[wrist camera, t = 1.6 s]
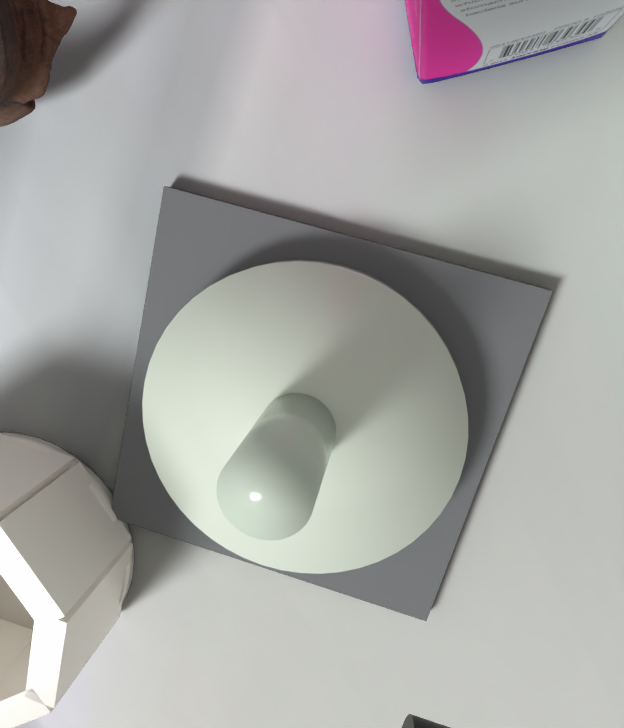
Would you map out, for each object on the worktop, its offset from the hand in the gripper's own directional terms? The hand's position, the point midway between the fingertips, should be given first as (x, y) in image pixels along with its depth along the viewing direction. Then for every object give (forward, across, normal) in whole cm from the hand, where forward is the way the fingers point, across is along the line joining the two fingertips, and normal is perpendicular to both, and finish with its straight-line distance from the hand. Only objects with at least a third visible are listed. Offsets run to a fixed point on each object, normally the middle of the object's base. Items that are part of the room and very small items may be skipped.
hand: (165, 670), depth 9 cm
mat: (+13, 0, 0) cm, 13 cm away
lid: (+13, 0, 0) cm, 13 cm away
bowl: (+13, +11, +10) cm, 20 cm away
